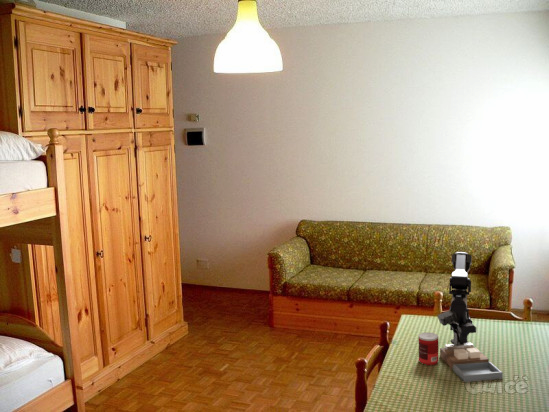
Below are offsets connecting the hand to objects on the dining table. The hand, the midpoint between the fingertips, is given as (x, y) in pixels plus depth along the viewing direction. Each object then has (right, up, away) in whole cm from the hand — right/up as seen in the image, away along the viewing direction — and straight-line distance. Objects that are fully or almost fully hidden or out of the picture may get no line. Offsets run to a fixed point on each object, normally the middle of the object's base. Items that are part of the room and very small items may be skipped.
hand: (459, 342), depth 238 cm
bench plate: (+1, -7, -3) cm, 8 cm away
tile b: (+3, -4, -7) cm, 8 cm away
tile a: (-2, -4, -7) cm, 8 cm away
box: (+2, -9, -15) cm, 18 cm away
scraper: (0, -3, 0) cm, 3 cm away
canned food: (-13, -8, -2) cm, 15 cm away
